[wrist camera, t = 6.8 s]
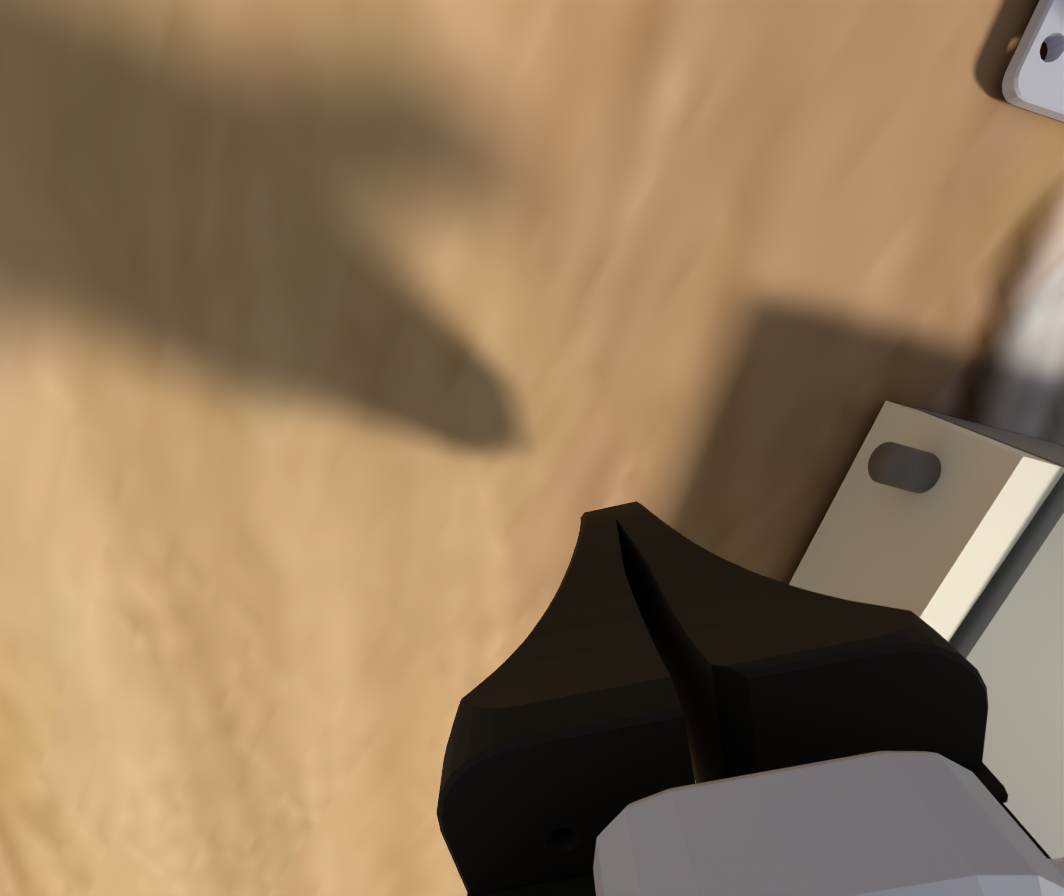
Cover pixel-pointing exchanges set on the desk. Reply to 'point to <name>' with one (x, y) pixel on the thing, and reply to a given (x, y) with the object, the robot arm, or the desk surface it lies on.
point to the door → (924, 518)
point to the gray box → (1024, 657)
